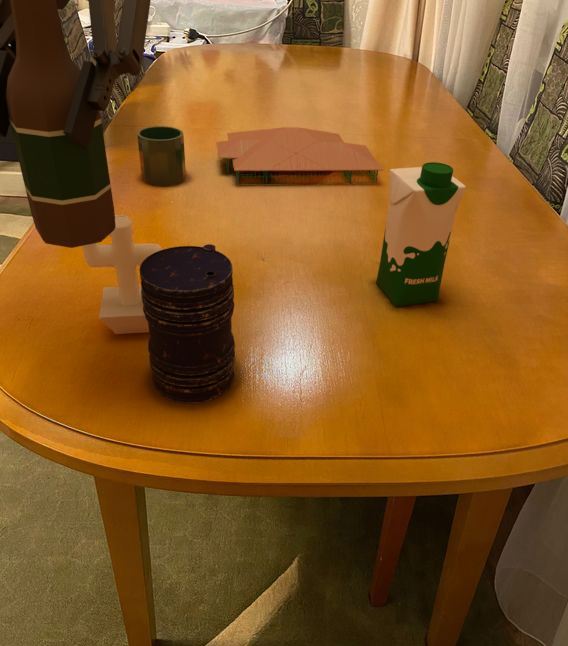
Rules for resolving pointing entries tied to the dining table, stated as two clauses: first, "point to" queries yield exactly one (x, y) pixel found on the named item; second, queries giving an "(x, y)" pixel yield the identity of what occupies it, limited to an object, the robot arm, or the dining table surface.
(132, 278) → the figurine
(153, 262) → the dark oil barrel
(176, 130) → the green mug
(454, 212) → the milk carton
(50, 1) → the beer bottle
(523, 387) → the dining table surface
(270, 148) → the house
